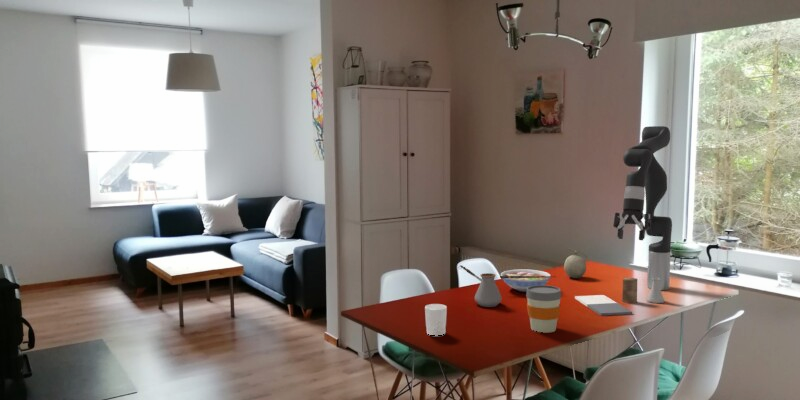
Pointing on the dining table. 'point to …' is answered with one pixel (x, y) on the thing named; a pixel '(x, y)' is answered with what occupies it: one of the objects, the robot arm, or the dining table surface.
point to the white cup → (435, 319)
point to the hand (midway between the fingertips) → (630, 239)
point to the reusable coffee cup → (543, 307)
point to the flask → (655, 292)
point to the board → (603, 305)
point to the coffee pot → (486, 290)
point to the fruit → (575, 265)
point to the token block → (629, 290)
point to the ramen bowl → (524, 278)
